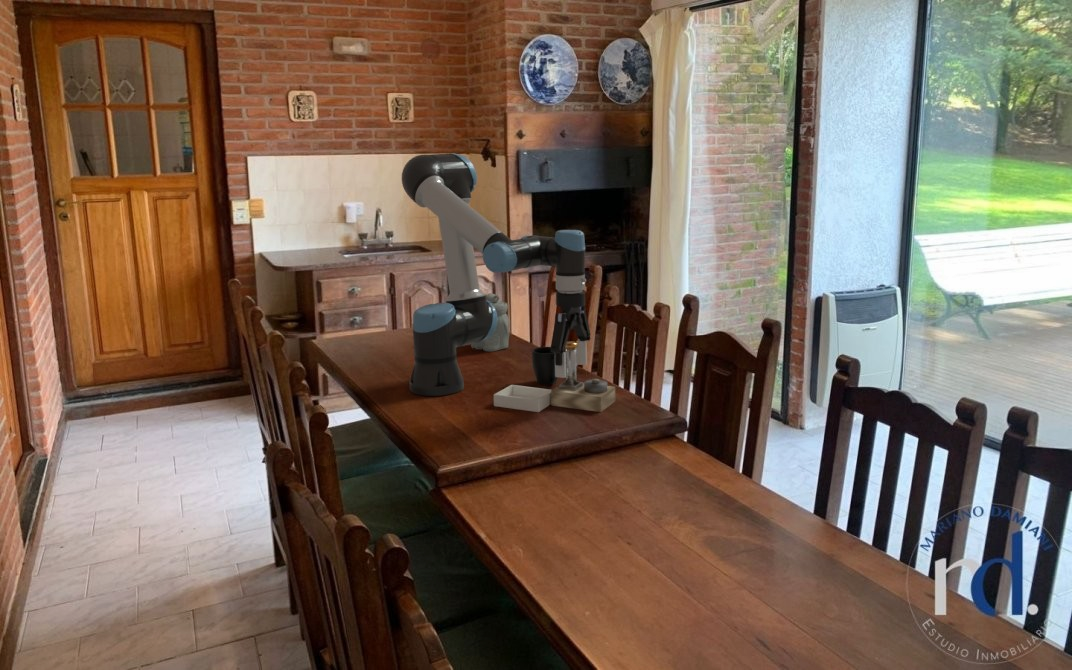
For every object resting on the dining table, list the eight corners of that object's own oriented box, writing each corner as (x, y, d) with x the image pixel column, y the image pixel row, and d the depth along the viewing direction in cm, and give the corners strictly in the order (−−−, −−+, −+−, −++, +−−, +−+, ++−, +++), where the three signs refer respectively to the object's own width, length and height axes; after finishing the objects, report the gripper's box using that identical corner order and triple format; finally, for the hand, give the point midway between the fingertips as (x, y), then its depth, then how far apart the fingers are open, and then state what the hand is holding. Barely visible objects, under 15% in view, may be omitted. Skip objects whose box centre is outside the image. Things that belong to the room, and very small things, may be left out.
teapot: (461, 342, 295) (459, 288, 291) (505, 340, 298) (504, 286, 293) (465, 354, 279) (463, 297, 275) (511, 351, 282) (510, 295, 278)
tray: (493, 405, 225) (493, 394, 224) (511, 395, 234) (511, 384, 233) (538, 412, 219) (538, 400, 218) (555, 401, 228) (555, 390, 227)
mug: (546, 391, 237) (545, 357, 235) (527, 380, 248) (527, 348, 246) (572, 387, 241) (572, 354, 239) (553, 377, 251) (552, 345, 249)
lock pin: (562, 388, 226) (561, 343, 223) (567, 384, 229) (567, 340, 226) (574, 389, 224) (574, 345, 222) (580, 386, 227) (580, 342, 225)
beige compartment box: (551, 405, 225) (550, 380, 223) (567, 395, 233) (566, 370, 232) (600, 412, 219) (601, 386, 217) (615, 401, 227) (615, 376, 226)
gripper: (563, 300, 208) (564, 384, 213) (602, 284, 230) (602, 360, 235) (535, 298, 212) (537, 381, 216) (576, 282, 233) (577, 358, 238)
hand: (571, 370), depth 226 cm, fingers open, 13 cm apart
